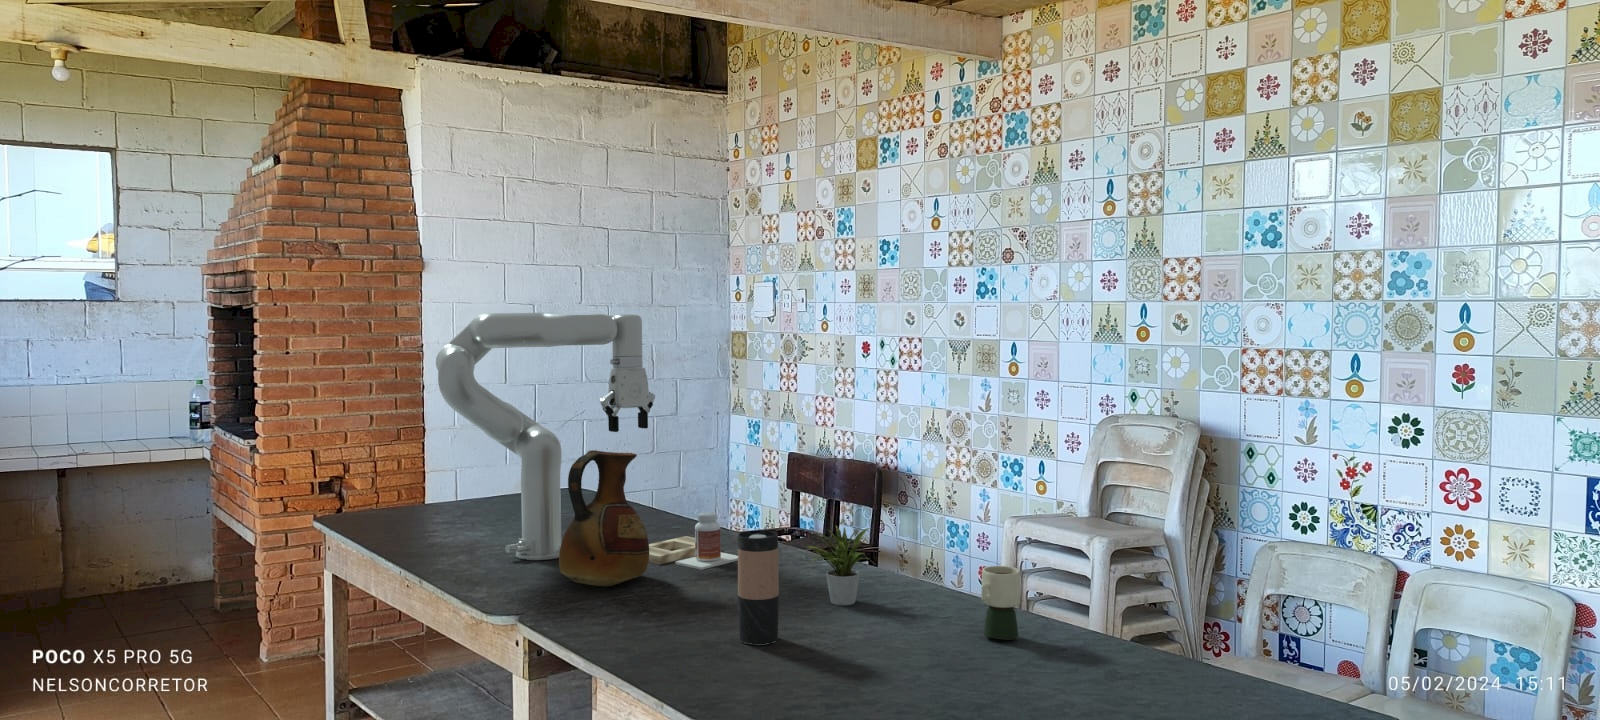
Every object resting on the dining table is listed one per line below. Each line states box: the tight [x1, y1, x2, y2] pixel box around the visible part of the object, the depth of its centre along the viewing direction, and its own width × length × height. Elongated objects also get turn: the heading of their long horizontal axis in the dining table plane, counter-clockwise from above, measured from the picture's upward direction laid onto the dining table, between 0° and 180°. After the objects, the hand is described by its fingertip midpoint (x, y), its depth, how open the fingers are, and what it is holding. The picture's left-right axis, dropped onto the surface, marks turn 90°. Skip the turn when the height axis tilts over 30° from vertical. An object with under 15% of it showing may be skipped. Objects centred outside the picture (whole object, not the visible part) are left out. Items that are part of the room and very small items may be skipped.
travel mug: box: [737, 530, 780, 644], centre depth 211 cm, size 8×8×20 cm
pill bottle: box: [694, 511, 722, 562], centre depth 273 cm, size 6×6×11 cm
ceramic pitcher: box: [558, 449, 650, 587], centre depth 254 cm, size 20×20×30 cm
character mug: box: [980, 565, 1021, 641], centre depth 211 cm, size 11×7×13 cm, turn 131°
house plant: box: [806, 525, 872, 606], centre depth 238 cm, size 14×14×16 cm
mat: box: [674, 551, 738, 571], centre depth 274 cm, size 14×9×1 cm, turn 139°
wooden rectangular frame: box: [648, 535, 695, 566], centre depth 282 cm, size 20×12×2 cm, turn 139°
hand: (628, 429), depth 288 cm, fingers open, 9 cm apart
